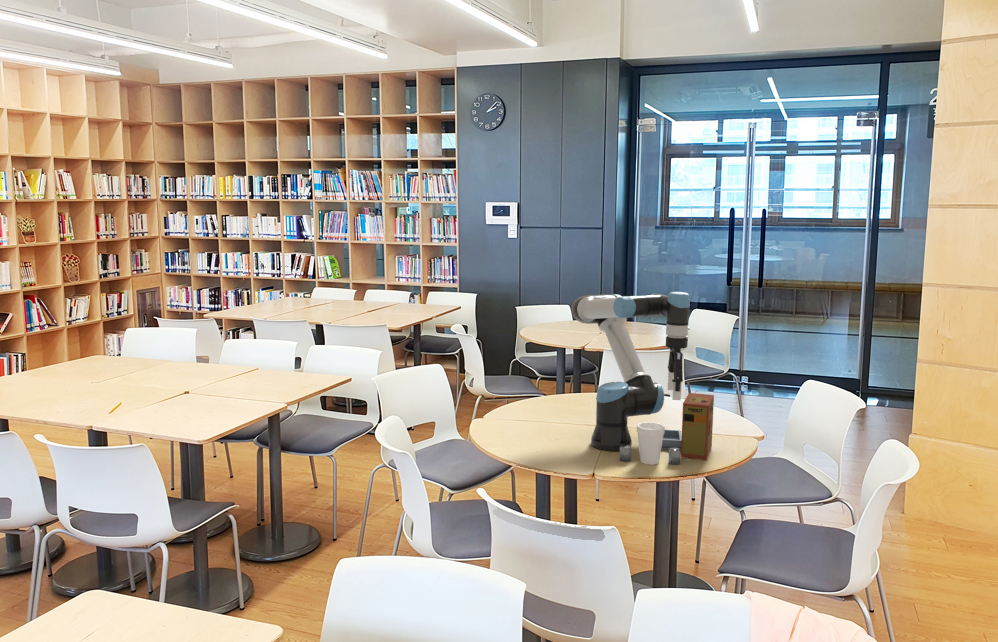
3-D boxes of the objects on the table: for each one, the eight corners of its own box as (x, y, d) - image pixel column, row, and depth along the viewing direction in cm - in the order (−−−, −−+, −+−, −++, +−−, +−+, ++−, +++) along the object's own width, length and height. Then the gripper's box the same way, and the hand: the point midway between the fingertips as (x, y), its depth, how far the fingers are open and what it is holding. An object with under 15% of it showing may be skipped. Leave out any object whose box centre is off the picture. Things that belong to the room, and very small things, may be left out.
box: (687, 444, 284) (689, 392, 282) (711, 447, 281) (713, 395, 278) (680, 457, 269) (682, 403, 266) (706, 460, 266) (709, 405, 263)
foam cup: (665, 466, 260) (666, 429, 258) (638, 465, 260) (639, 429, 258) (660, 457, 269) (661, 422, 267) (634, 457, 269) (635, 422, 267)
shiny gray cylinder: (668, 464, 261) (669, 450, 261) (668, 461, 265) (668, 447, 264) (680, 465, 261) (681, 451, 260) (679, 461, 264) (680, 448, 264)
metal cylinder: (619, 461, 264) (619, 447, 264) (619, 458, 268) (619, 444, 267) (630, 462, 264) (631, 448, 263) (630, 458, 267) (631, 445, 267)
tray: (644, 447, 280) (644, 438, 279) (644, 437, 293) (644, 428, 293) (682, 449, 277) (682, 440, 277) (680, 439, 291) (680, 430, 290)
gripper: (693, 343, 251) (690, 404, 254) (682, 330, 275) (679, 386, 279) (670, 342, 252) (667, 403, 255) (661, 329, 276) (659, 385, 279)
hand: (673, 394), depth 267 cm, fingers open, 13 cm apart
